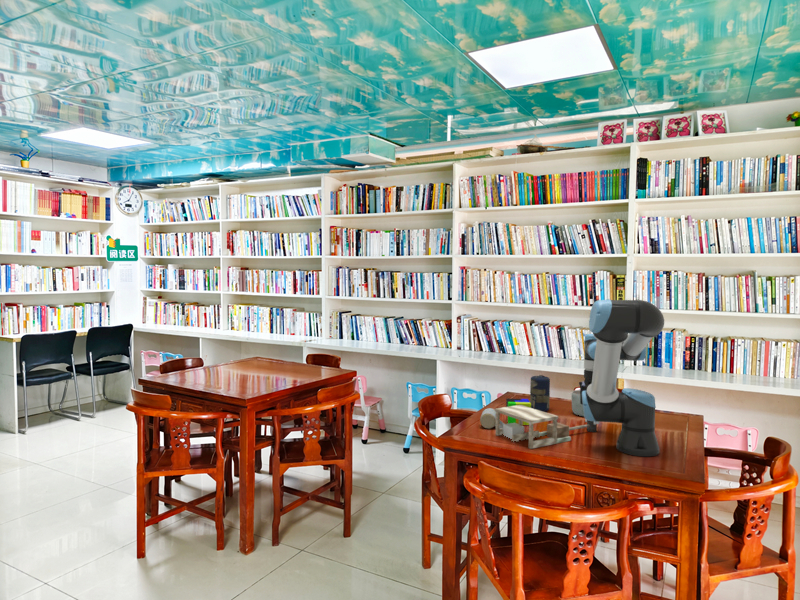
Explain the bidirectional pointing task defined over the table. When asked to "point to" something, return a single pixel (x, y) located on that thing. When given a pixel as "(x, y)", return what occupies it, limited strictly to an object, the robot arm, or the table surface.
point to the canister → (540, 392)
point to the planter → (577, 403)
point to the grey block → (512, 429)
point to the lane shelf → (530, 425)
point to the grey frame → (564, 429)
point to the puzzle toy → (513, 403)
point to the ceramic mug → (489, 419)
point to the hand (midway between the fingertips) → (592, 422)
